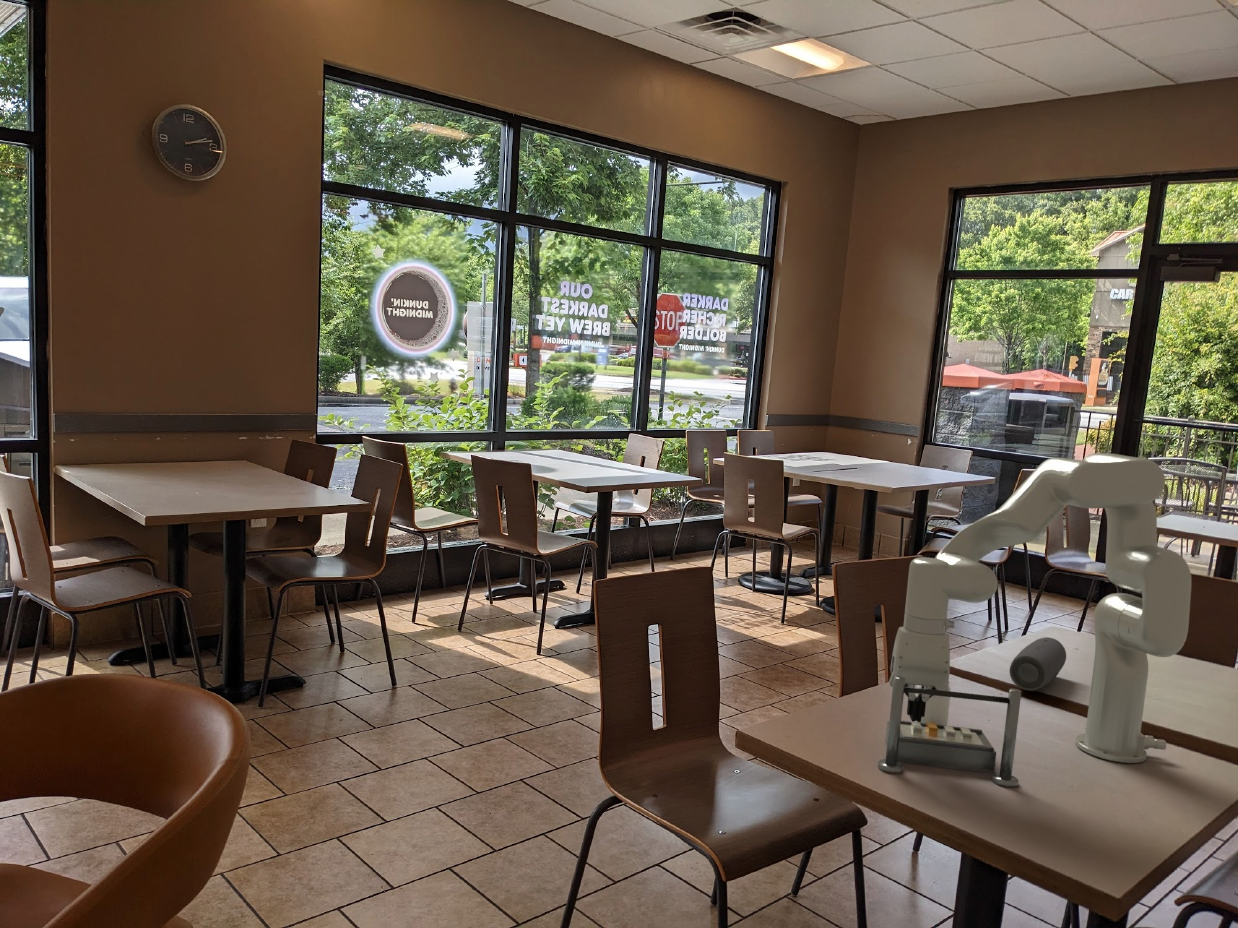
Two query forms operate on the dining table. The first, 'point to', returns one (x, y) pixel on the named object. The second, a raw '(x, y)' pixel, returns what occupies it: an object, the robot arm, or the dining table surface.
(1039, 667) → the bluetooth speaker
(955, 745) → the breaker panel
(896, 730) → the cord stand
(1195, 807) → the dining table surface
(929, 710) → the can
